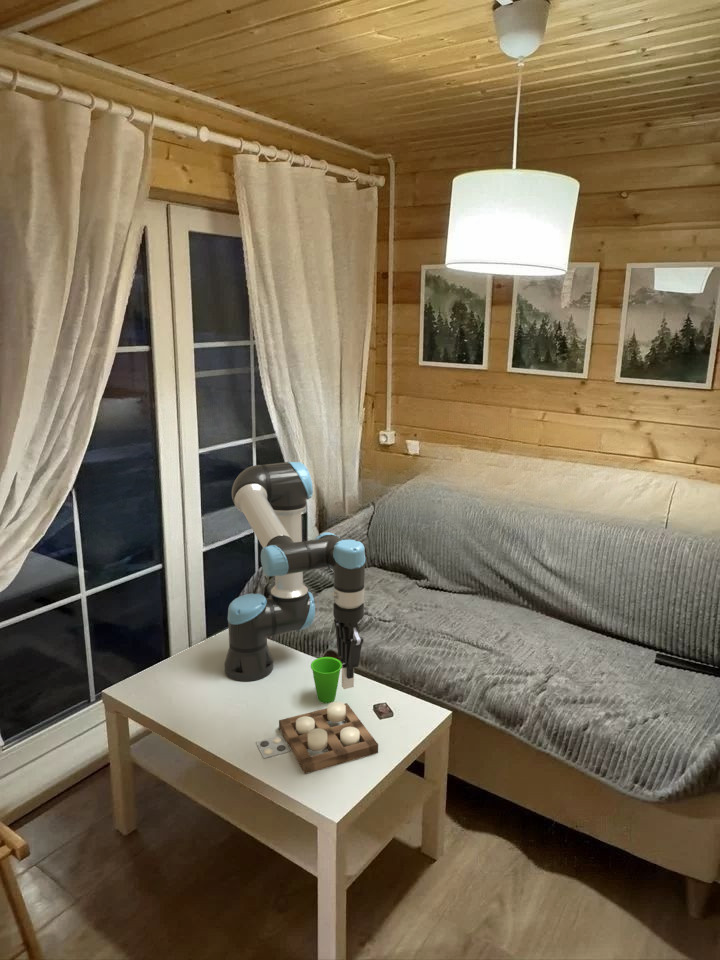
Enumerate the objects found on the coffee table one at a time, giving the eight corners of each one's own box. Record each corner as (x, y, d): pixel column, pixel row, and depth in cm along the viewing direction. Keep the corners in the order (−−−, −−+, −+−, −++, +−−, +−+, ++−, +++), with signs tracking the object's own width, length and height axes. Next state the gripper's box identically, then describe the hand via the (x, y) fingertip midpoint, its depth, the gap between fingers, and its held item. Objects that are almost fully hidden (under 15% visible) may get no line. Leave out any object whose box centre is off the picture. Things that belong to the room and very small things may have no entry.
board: (279, 728, 185) (279, 720, 184) (346, 710, 193) (346, 703, 192) (304, 774, 167) (304, 765, 166) (378, 752, 175) (378, 744, 175)
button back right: (293, 728, 183) (293, 719, 182) (310, 724, 185) (310, 714, 184) (299, 739, 179) (299, 729, 178) (317, 734, 181) (317, 724, 180)
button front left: (337, 739, 179) (337, 729, 178) (354, 734, 181) (354, 724, 180) (344, 750, 174) (344, 740, 174) (362, 745, 176) (362, 735, 176)
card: (255, 742, 179) (255, 741, 178) (281, 736, 181) (281, 734, 181) (263, 759, 172) (263, 757, 172) (290, 751, 175) (290, 750, 175)
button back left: (324, 714, 186) (324, 704, 185) (341, 709, 188) (341, 700, 187) (331, 724, 182) (331, 714, 181) (348, 719, 184) (348, 709, 183)
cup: (337, 709, 193) (338, 674, 191) (307, 705, 195) (306, 671, 192) (345, 692, 202) (345, 658, 199) (315, 688, 204) (315, 655, 201)
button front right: (304, 741, 175) (304, 731, 174) (323, 736, 177) (323, 726, 176) (311, 753, 170) (311, 742, 169) (330, 747, 172) (330, 737, 171)
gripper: (324, 594, 172) (324, 676, 179) (345, 616, 161) (344, 703, 167) (351, 589, 175) (350, 670, 182) (374, 610, 164) (371, 696, 170)
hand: (347, 686), depth 174 cm, fingers closed
